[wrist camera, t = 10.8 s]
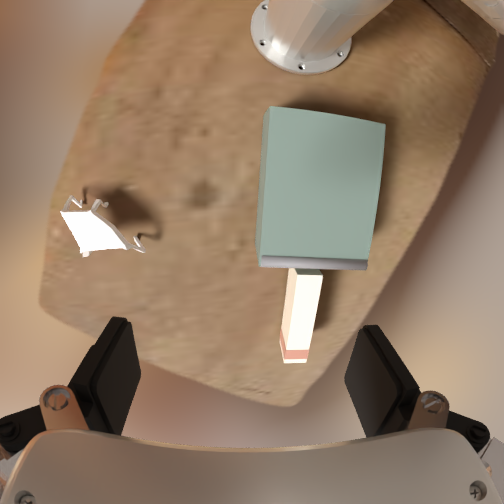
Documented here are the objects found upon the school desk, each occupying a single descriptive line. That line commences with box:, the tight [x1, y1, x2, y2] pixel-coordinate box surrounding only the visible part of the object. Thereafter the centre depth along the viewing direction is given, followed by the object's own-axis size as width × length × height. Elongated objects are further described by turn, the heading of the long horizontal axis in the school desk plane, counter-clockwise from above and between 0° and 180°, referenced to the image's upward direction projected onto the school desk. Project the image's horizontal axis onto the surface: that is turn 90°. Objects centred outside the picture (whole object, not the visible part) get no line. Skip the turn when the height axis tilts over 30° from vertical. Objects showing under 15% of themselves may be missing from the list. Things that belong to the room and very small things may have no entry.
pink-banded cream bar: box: [280, 268, 323, 363], centre depth 37 cm, size 13×3×5 cm, turn 176°
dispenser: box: [255, 106, 386, 270], centre depth 31 cm, size 16×12×8 cm
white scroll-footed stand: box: [60, 195, 146, 257], centre depth 33 cm, size 12×8×5 cm
